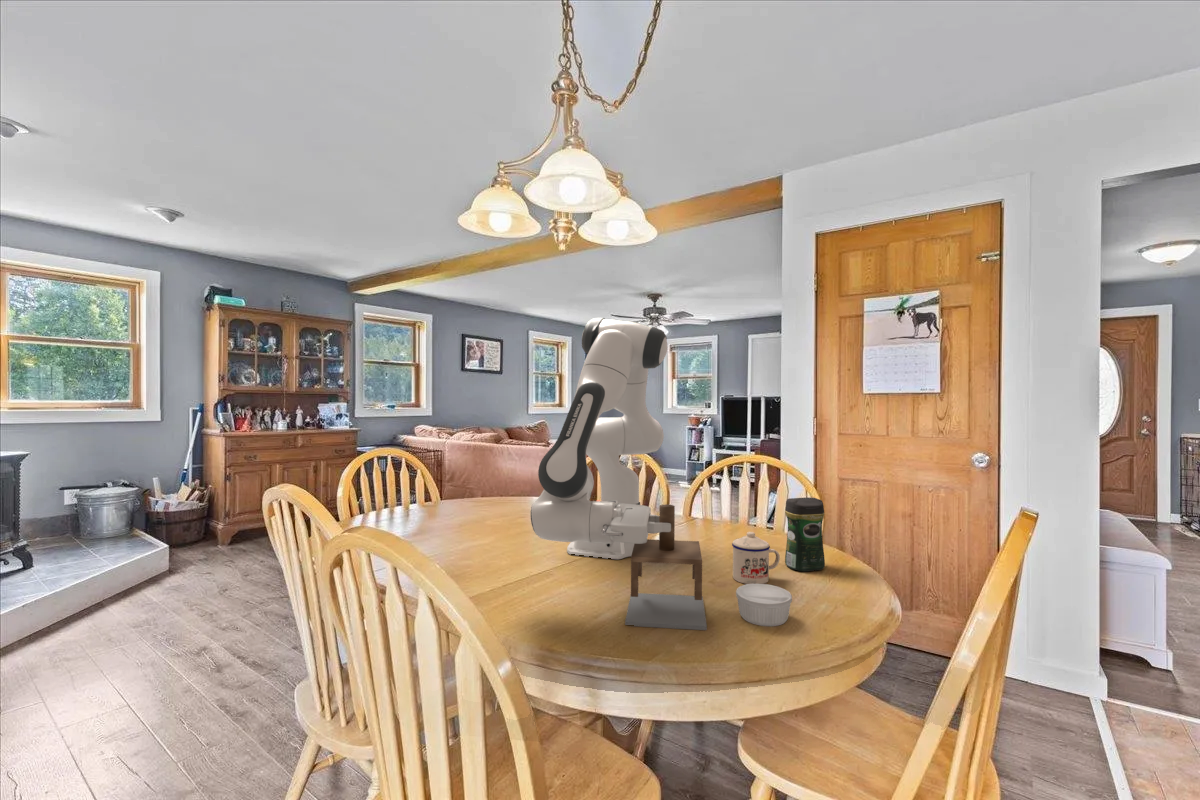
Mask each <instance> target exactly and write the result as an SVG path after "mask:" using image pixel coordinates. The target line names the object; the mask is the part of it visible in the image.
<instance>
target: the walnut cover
mask: <svg viewBox="0 0 1200 800" xmlns="http://www.w3.org/2000/svg"><path fill="white" fill-rule="evenodd" d="M675 509H676V508H675V505H673V504H660V505H659V511H658V514H659V515H658V516H659V523H662V522H670V523H671V531H670V532H660V533H658V535H659V537H658V539H651V538H650V539H648V538H647V542H646V543H643V544H634V548H633V552H632V555H631V556H630V596H631V597H638V593H639V578H640V577H641V578H642V576H643V563H648V564H649V563H651V564H652V563H655V564H674V565H675V564H676V565H677V564H678V565H692V566H691V567H692V570H691V571H692V573H691V576H692V580H694V585H693V587H694V591H693V592H694V594H693V596H694V598H695V600H702V596H703V557H702V552H701V551H702V550H701V545H700V540H699V541H698V540H678V539H677V540H676V539H675V538H676V537H675V533H676V532H675V529H676V528H675V524H676V523H675V519H676V517H675Z"/></svg>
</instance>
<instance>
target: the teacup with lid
mask: <svg viewBox="0 0 1200 800" xmlns="http://www.w3.org/2000/svg"><path fill="white" fill-rule="evenodd" d="M731 546H732V578H733V579H734V580H735V581H736V582H737V583H738V582H739V583H740V584H743V585H746V584H767V583H768V582H769V579H770V578H769V575H770V574H769V572H770V570H773V569H776V567H778V565H779V563H780V559H781V557H780V555H781V554H780V553H779V551H778V550H776V549H774V548H771V545H770V544H769V542H767V540H764V539H761V538H760V537H759V536H756V533H755V532H754V531H747V532H746V535H743V536H742V537H740V538H736V539H734V540H733V541H732V543H731ZM770 553H774V554H775V560H774V562H773V563H772V564H770Z"/></svg>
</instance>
